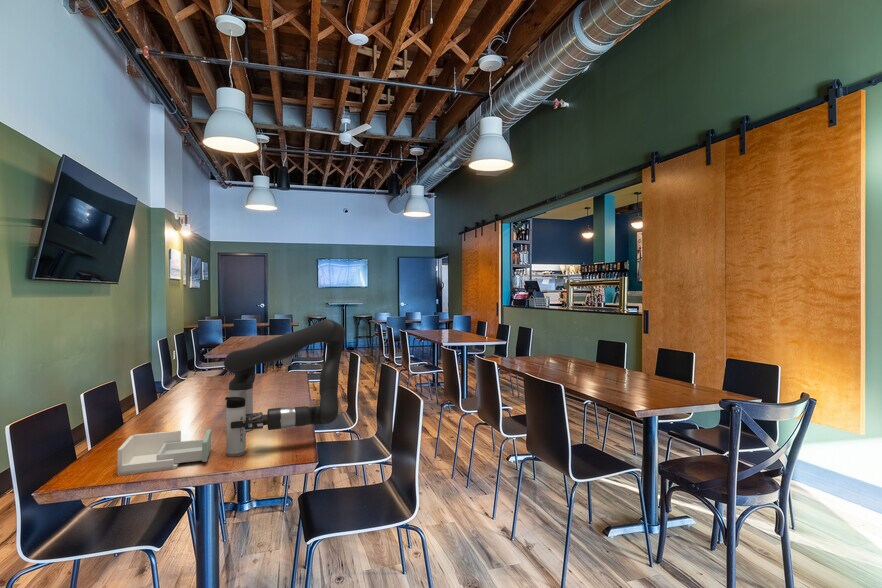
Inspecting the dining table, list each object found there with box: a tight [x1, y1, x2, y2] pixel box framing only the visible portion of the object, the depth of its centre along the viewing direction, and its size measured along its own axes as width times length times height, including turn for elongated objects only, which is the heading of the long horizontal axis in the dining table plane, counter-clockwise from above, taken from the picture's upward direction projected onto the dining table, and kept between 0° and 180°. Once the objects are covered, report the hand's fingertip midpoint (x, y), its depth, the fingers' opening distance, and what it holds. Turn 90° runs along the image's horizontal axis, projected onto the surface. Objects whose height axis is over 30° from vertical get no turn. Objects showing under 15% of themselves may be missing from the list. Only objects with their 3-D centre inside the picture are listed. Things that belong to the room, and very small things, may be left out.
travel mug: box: [224, 396, 247, 458], centre depth 164 cm, size 6×7×20 cm
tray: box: [156, 428, 212, 464], centre depth 158 cm, size 15×17×6 cm
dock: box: [116, 429, 182, 477], centre depth 155 cm, size 16×17×8 cm
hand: (231, 422), depth 164 cm, fingers closed on travel mug, 6 cm apart
